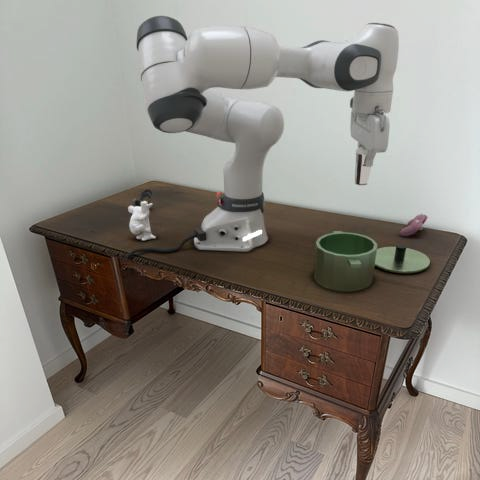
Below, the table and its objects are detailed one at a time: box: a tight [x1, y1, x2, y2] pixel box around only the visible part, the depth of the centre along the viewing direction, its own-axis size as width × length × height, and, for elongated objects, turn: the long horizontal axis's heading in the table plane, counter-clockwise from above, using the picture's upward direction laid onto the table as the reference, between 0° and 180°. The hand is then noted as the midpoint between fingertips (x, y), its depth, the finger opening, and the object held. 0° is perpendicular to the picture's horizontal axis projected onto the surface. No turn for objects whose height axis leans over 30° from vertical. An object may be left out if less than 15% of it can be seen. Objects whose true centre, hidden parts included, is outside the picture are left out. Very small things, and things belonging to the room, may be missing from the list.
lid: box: [375, 243, 431, 274], centre depth 125 cm, size 16×16×5 cm
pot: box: [313, 230, 379, 293], centre depth 117 cm, size 15×20×10 cm
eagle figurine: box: [131, 188, 153, 210], centre depth 167 cm, size 8×7×9 cm
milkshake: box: [354, 147, 372, 186], centre depth 118 cm, size 4×5×10 cm
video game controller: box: [399, 213, 429, 237], centre depth 142 cm, size 10×5×7 cm, turn 148°
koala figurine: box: [127, 201, 157, 242], centre depth 142 cm, size 8×7×12 cm
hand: (364, 163), depth 118 cm, fingers closed on milkshake, 4 cm apart
